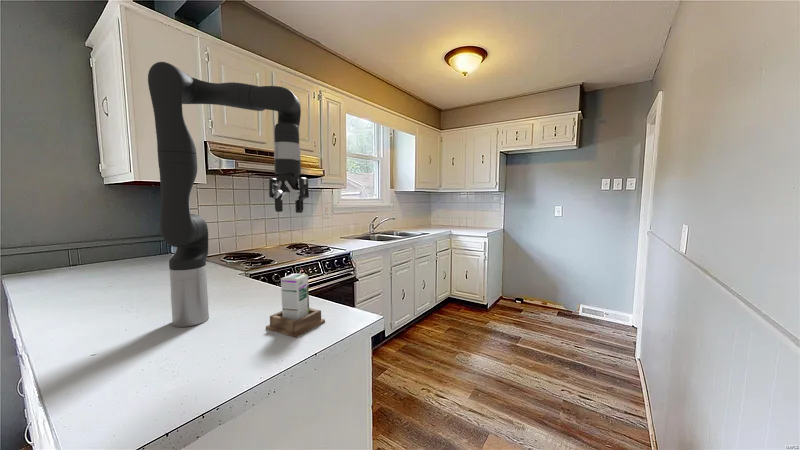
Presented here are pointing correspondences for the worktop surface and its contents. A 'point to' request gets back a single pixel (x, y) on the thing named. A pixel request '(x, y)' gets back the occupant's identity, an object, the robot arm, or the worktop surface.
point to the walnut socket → (295, 323)
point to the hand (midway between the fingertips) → (289, 212)
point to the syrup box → (295, 296)
